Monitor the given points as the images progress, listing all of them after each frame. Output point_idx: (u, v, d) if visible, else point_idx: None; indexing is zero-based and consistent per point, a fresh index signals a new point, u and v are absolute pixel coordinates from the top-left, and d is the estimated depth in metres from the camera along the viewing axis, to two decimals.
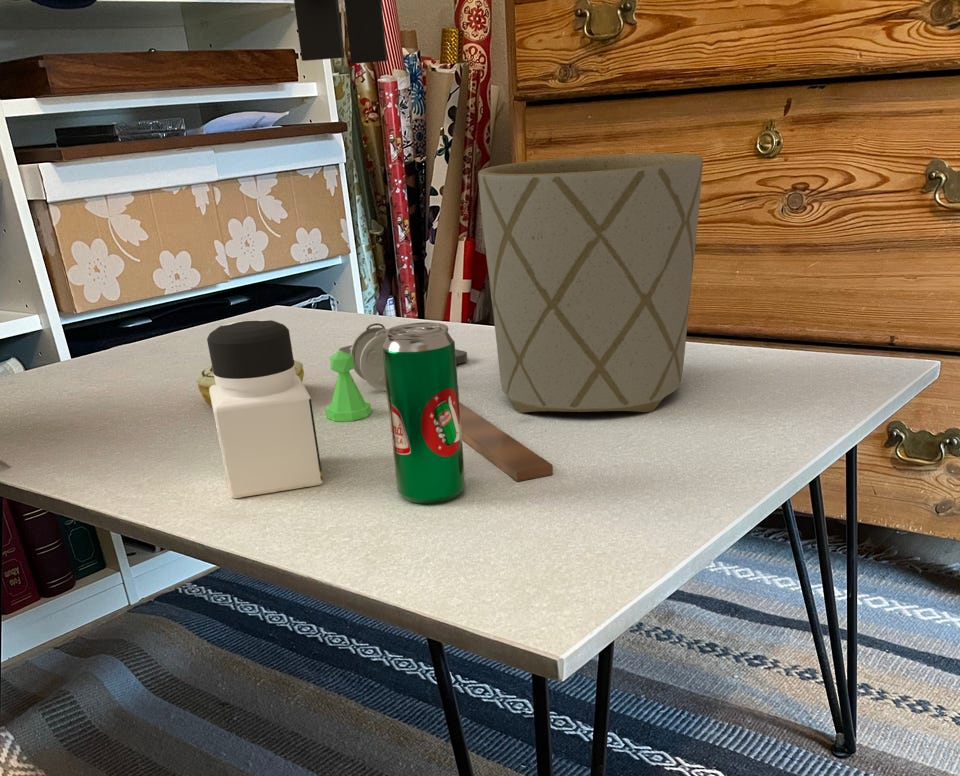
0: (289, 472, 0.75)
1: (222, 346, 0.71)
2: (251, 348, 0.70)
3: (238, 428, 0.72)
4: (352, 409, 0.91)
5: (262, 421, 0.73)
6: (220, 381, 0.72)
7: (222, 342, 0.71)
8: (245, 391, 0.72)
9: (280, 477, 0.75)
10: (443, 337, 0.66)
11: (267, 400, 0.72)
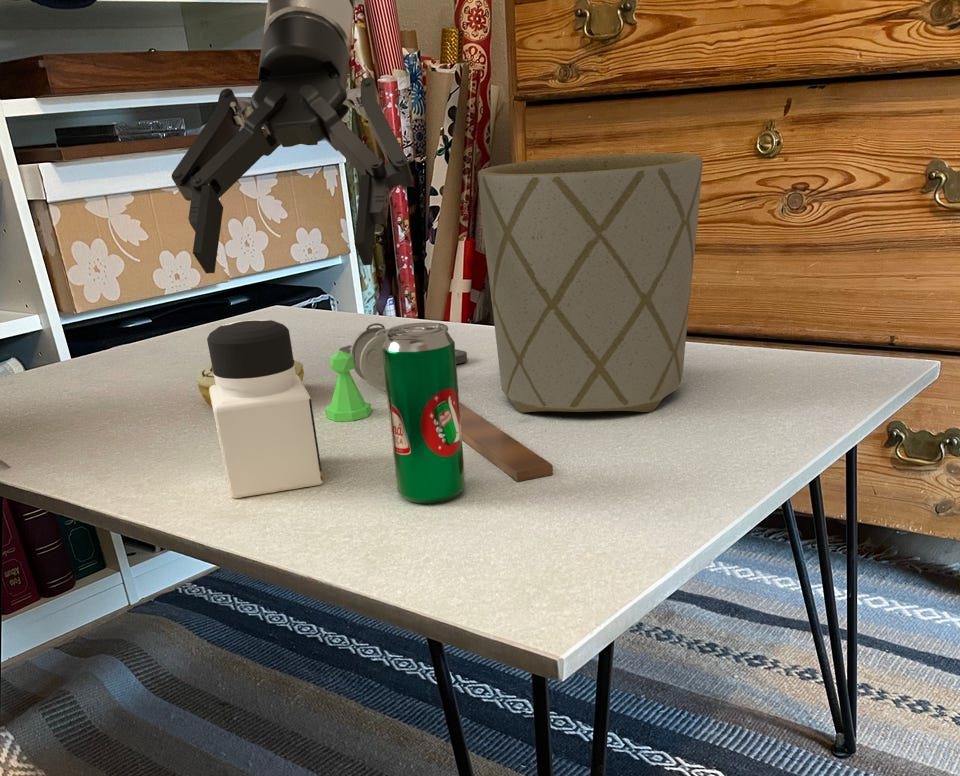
0: (289, 472, 0.75)
1: (222, 346, 0.71)
2: (251, 348, 0.70)
3: (238, 428, 0.72)
4: (352, 409, 0.91)
5: (262, 421, 0.73)
6: (220, 381, 0.72)
7: (222, 342, 0.71)
8: (245, 391, 0.72)
9: (280, 477, 0.75)
10: (443, 336, 0.66)
11: (267, 401, 0.72)
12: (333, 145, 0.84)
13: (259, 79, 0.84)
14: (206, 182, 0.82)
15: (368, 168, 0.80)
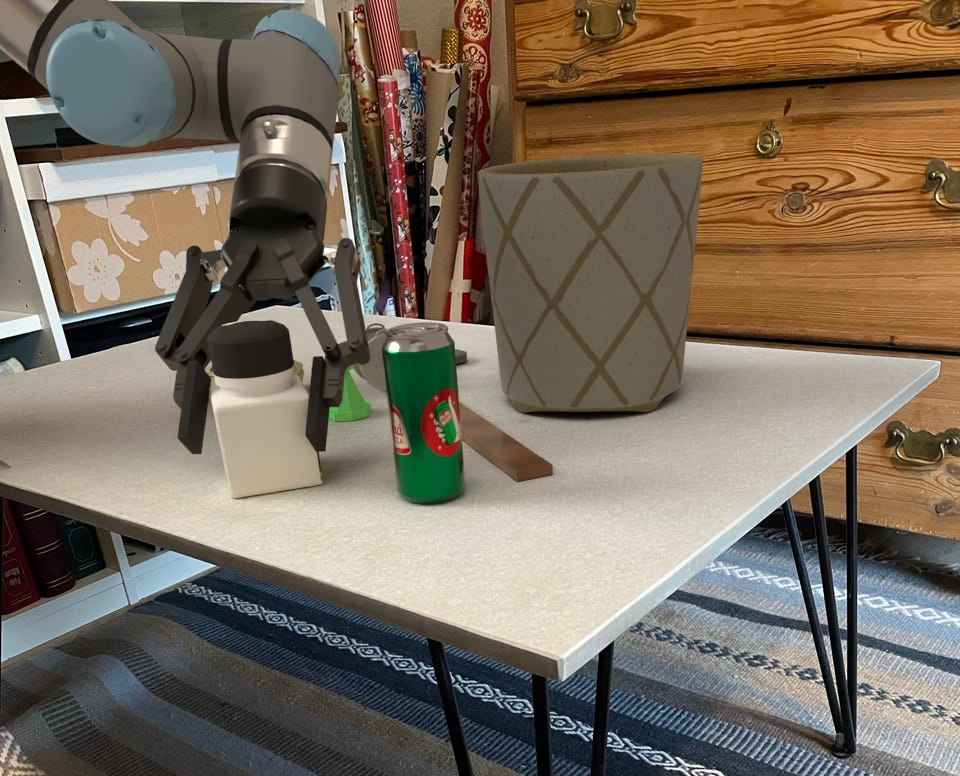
0: (289, 472, 0.75)
1: (222, 346, 0.71)
2: (251, 348, 0.70)
3: (238, 428, 0.72)
4: (352, 409, 0.91)
5: (262, 421, 0.73)
6: (220, 381, 0.72)
7: (222, 342, 0.71)
8: (245, 391, 0.72)
9: (281, 477, 0.75)
10: (443, 336, 0.66)
11: (267, 400, 0.72)
12: None
13: (230, 228, 0.78)
14: (193, 354, 0.75)
15: (322, 346, 0.74)
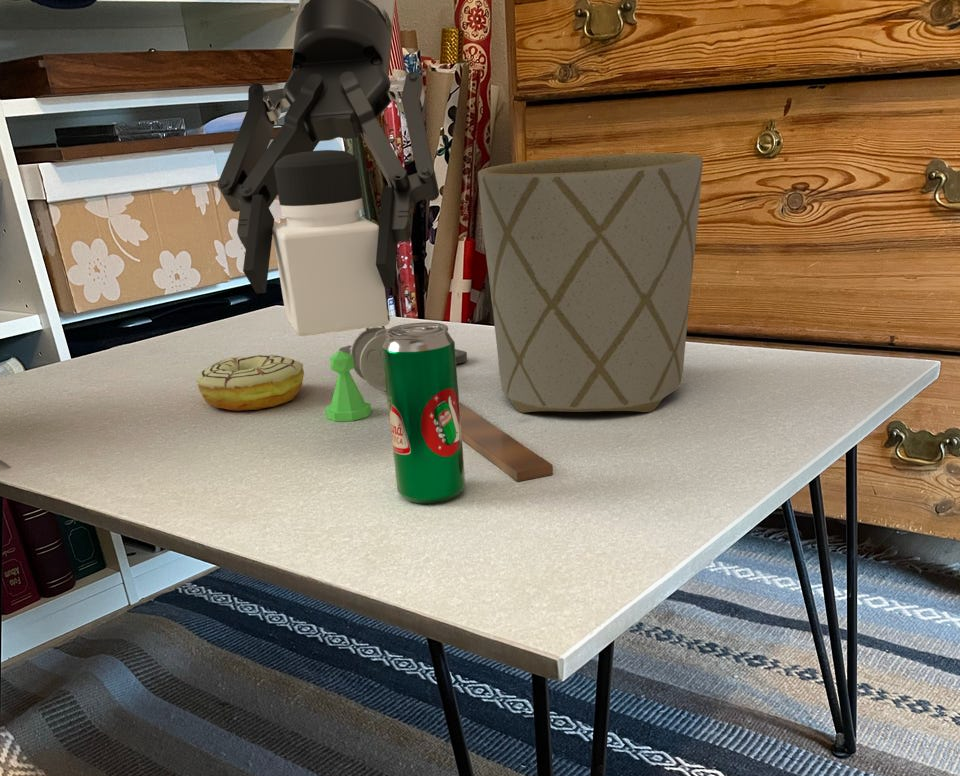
0: (357, 309, 0.73)
1: (291, 169, 0.69)
2: (321, 171, 0.68)
3: (306, 258, 0.70)
4: (352, 409, 0.91)
5: (330, 251, 0.70)
6: (288, 210, 0.70)
7: (291, 165, 0.69)
8: (313, 220, 0.70)
9: (348, 315, 0.73)
10: (443, 336, 0.66)
11: (336, 229, 0.70)
12: (366, 142, 0.76)
13: (293, 65, 0.76)
14: (257, 189, 0.73)
15: (391, 178, 0.72)
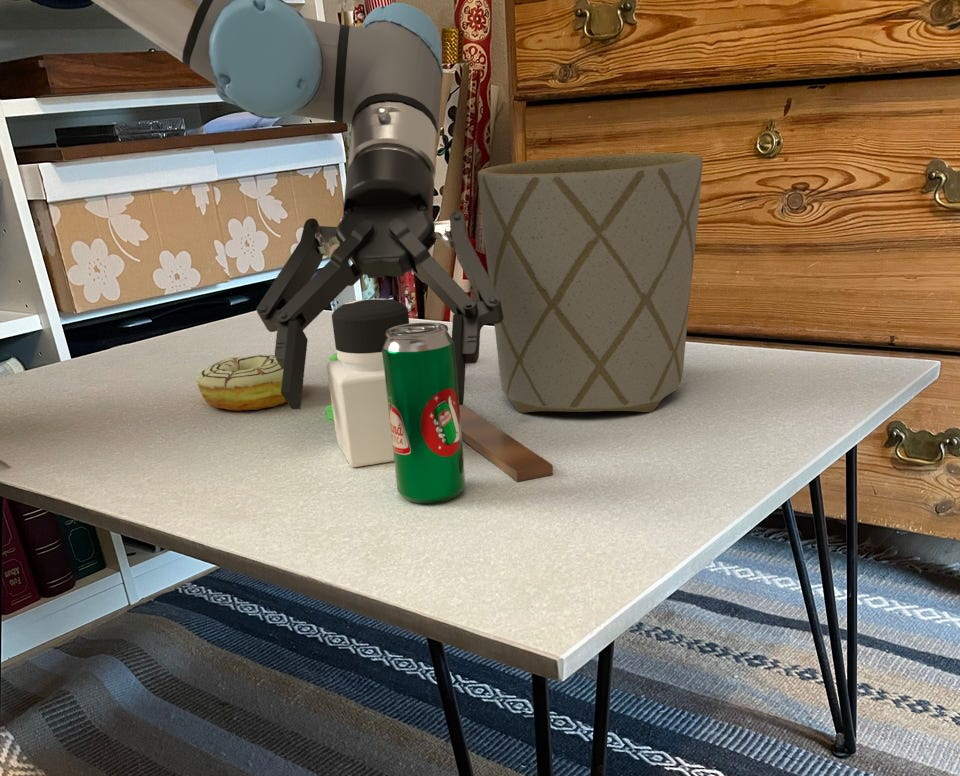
0: None
1: (349, 322, 0.75)
2: (376, 324, 0.75)
3: (361, 400, 0.77)
4: None
5: (383, 394, 0.77)
6: (344, 356, 0.77)
7: (349, 318, 0.75)
8: (368, 365, 0.77)
9: None
10: (443, 336, 0.66)
11: None
12: (420, 277, 0.82)
13: (344, 209, 0.83)
14: (292, 317, 0.80)
15: (460, 307, 0.78)
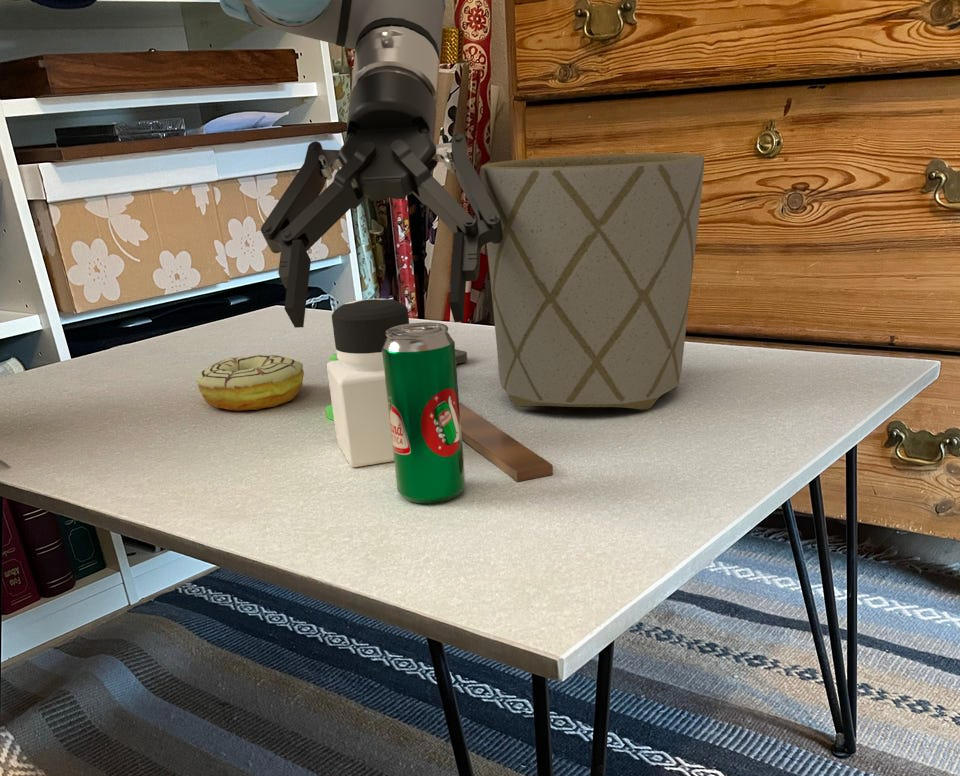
0: None
1: (349, 322, 0.75)
2: (376, 324, 0.75)
3: (361, 400, 0.77)
4: None
5: (383, 394, 0.77)
6: (344, 356, 0.77)
7: (349, 319, 0.75)
8: (368, 365, 0.77)
9: None
10: (443, 336, 0.66)
11: None
12: (421, 199, 0.84)
13: (347, 132, 0.84)
14: (296, 236, 0.82)
15: (461, 225, 0.80)
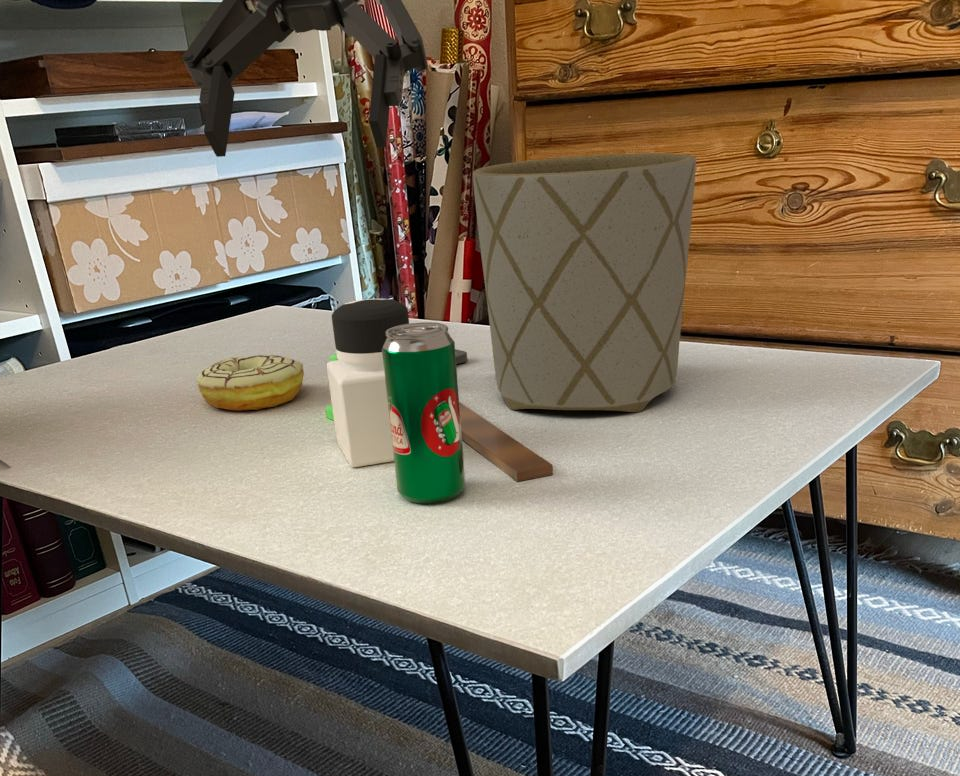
0: None
1: (349, 322, 0.75)
2: (376, 324, 0.75)
3: (361, 400, 0.77)
4: None
5: (383, 394, 0.77)
6: (344, 356, 0.77)
7: (348, 319, 0.75)
8: (367, 365, 0.77)
9: None
10: (443, 336, 0.66)
11: None
12: (347, 31, 0.83)
13: None
14: (218, 64, 0.81)
15: (383, 48, 0.79)
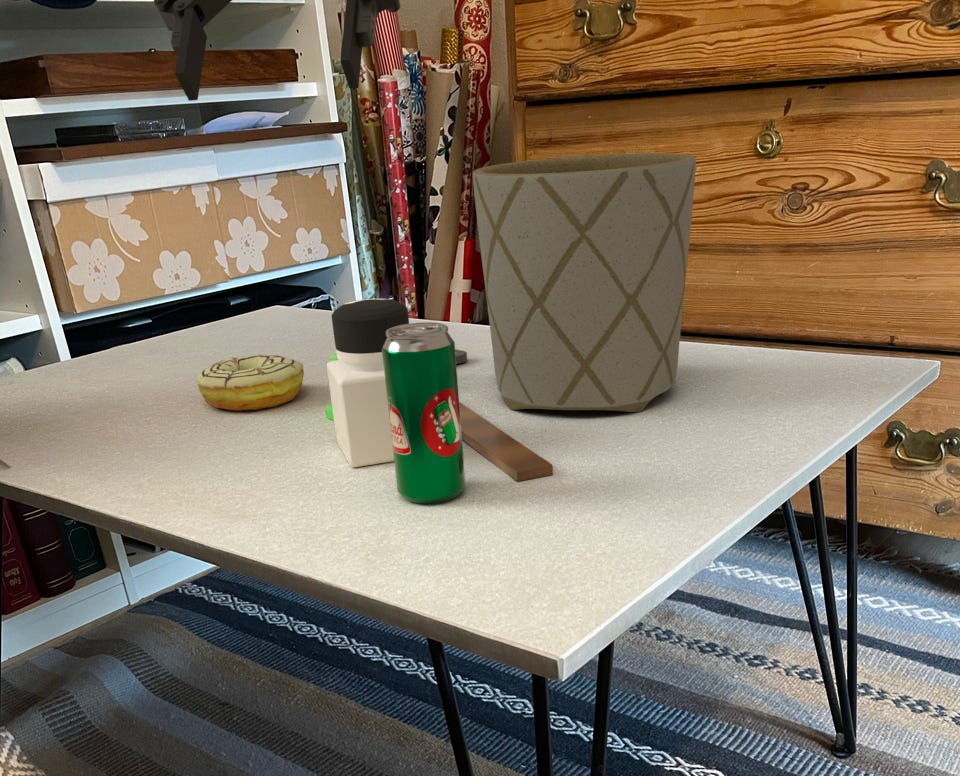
0: None
1: (348, 322, 0.75)
2: (376, 324, 0.75)
3: (361, 400, 0.77)
4: None
5: (383, 394, 0.77)
6: (344, 356, 0.77)
7: (348, 319, 0.75)
8: (367, 365, 0.77)
9: None
10: (443, 336, 0.66)
11: None
12: None
13: None
14: (189, 7, 0.80)
15: None
